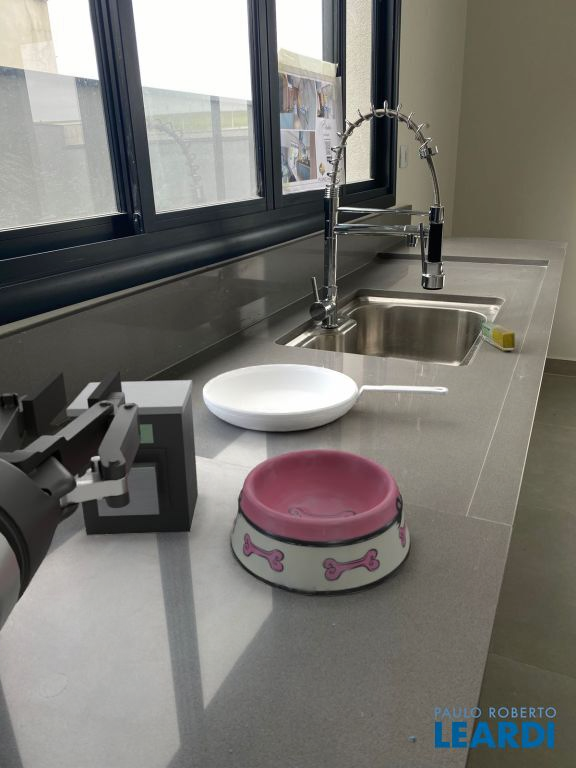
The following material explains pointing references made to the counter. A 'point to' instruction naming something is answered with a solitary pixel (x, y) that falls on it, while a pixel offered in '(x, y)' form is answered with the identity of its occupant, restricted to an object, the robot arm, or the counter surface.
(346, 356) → the counter surface
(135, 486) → the push plate
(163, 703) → the counter surface
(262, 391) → the pan
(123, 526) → the dispenser
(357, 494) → the dog bowl
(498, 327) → the medication box
